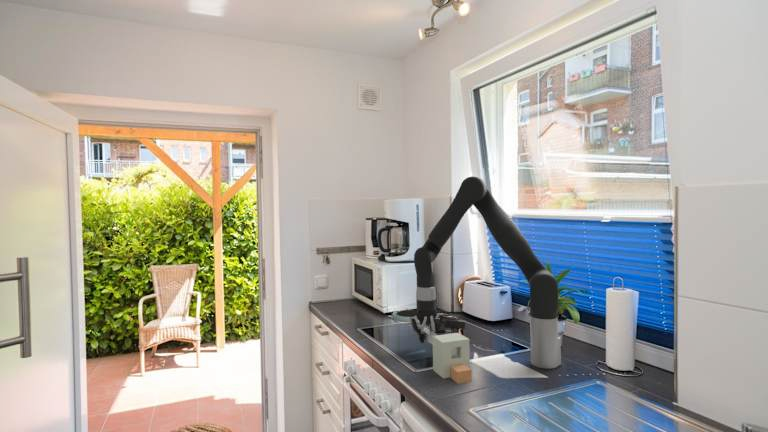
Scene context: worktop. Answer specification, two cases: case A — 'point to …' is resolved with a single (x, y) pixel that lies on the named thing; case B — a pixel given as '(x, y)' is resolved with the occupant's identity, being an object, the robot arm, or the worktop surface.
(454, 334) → the block
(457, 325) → the toy gun
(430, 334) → the shaft
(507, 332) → the worktop surface
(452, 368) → the block
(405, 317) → the pale green frying pan
